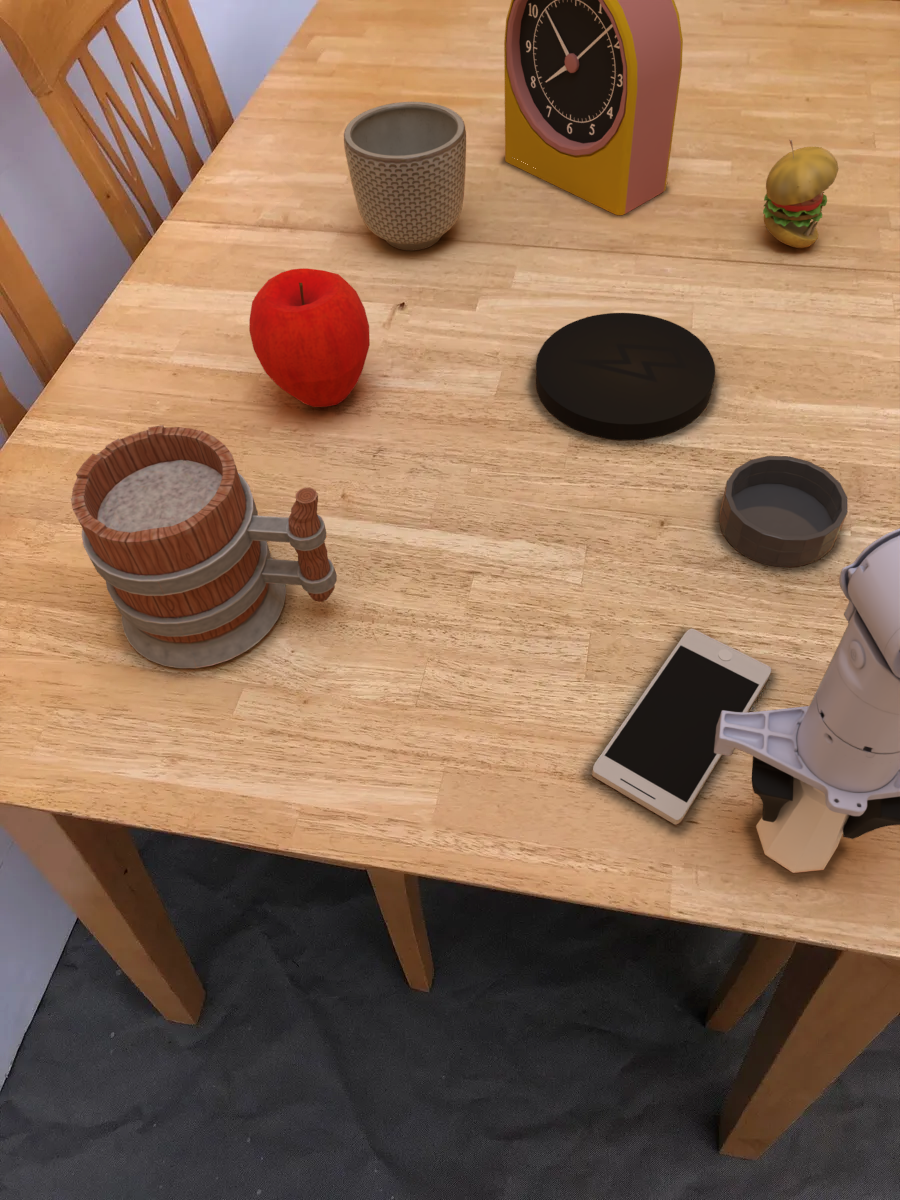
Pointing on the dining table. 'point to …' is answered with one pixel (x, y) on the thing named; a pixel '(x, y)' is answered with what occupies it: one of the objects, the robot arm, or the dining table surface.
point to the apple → (310, 335)
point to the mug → (192, 546)
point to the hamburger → (798, 194)
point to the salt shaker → (802, 831)
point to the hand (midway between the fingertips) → (808, 815)
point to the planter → (407, 171)
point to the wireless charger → (624, 376)
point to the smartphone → (679, 725)
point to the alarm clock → (593, 95)
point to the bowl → (782, 511)
